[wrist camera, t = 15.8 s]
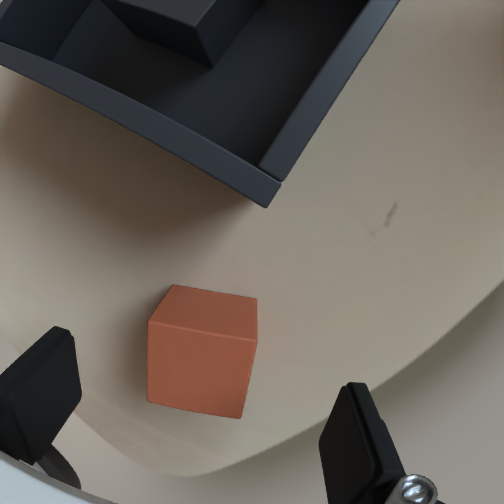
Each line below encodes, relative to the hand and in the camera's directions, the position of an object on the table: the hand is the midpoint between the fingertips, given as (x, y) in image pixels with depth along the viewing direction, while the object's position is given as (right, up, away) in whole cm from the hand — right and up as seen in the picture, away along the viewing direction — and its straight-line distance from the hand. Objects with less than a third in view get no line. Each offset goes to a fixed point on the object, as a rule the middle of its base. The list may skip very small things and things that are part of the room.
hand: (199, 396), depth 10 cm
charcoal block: (-1, +15, +1) cm, 15 cm away
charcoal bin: (-1, +15, +2) cm, 16 cm away
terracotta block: (0, +1, +6) cm, 6 cm away
